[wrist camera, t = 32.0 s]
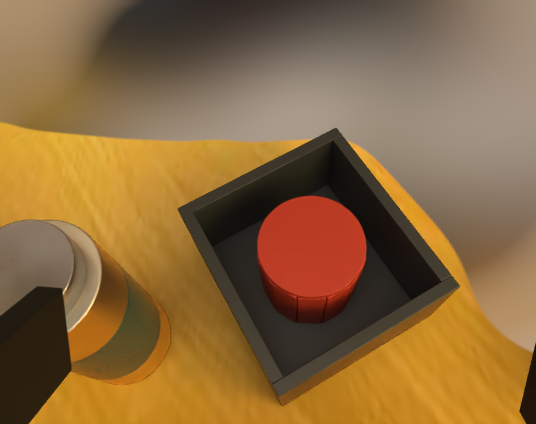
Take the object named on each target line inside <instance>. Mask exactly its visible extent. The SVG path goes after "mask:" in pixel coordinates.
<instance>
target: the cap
mask: <svg viewBox="0 0 536 424" xmlns="http://www.w3.org/2000/svg"><path fill="white" fill-rule="evenodd" d="M257 260H258V265H259V269H260V274H261V278H262V283H263V287H264V291H265V293H266V295H267V297H268V298H269V300H270V302H271V304H272V306H273V307H274V309H275V310H276V311H277V312H278V313H280V314H282V315H284V316H285V317H287V318H289V319H290V320H292V321H294V322H295V323H296V322H297V321H298V323H306V324H321V322H323V323H324V322H326V321H328V320H330V319H331V318H333V317H335V316H336V315H338V314H340V313H342V312H343V310H345V308H346V306H347V304H348V303H349V301H350V299H351V297H352V295H353V293H354V291H355V289H356V286H357V283H358V281H359V278H360V275H361V273H362V270H363V267H364V265H365V261H366V239H365V235H364V231H363V229H362V227H361V225H360V223H359V221H358V220H357V218H356V217H355V216H354V215H353V214H352V213H351V212H350V211H349V210H348V209H347V208H346V207H344V206H343V205H341V204H339V203H338V202H336V201H333V200H331V199H328V198H324V197H319V196H303V197H297V198H294V199H291V200H288V201H286V202H284V203H282V204H281V205H279V206H278V207H276V208H275V209H274V210H273V211H272V212H271V213H270V214H269V215H268V216H267V218H266V219H265V220H264V222H263V224H262V226H261V228H260V231H259V234H258V239H257Z"/></svg>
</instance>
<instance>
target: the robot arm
mask: <svg viewBox="0 0 536 424" xmlns="http://www.w3.org/2000/svg"><path fill="white" fill-rule="evenodd" d="M71 370H72V366H71V357H70V349H69V340H68V332H67V323H66V315H65V306H64V298H63V289H62V288H54V287H42V286H37V287H35V288H34V289H33V290H32V291H30V292H29V293H28V294H27V295H25V296H24V297H23V298H22V299H21V300H19V301H18V302H17V303H16V304H14V305H13V306H12V307H11V308H9V309H8V310H7V311H6V312H4V313H3V314H2V315H1V316H0V424H29V423H30V421H31V420H32V419H33V418H34V416H35V415H36V414H37V413H38V411H39V410H40V409H41V408H42V406H43V405H44V404H45V403H46V401H47V400H48V399H49V398H50V396H51V395H52V394H53V392H54V391H55V390H56V389H57V387H58V386H59V385H60V384H61V382H62V381H63V380H64V379H65V377H66V376H67V375H68V374H69V372H70V371H71ZM520 413H521V415H522V417H523V419H524V420H525V422H526V424H536V344H535V348H534V352H533V356H532V360H531V365H530V369H529V373H528V377H527V381H526V386H525V390H524V394H523V398H522V402H521V407H520Z"/></svg>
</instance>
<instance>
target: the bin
mask: <svg viewBox="0 0 536 424" xmlns="http://www.w3.org/2000/svg"><path fill="white" fill-rule="evenodd" d="M303 196H319V197H324V198H328V199H331V200H333V201H336V202H338V203H339V204H341V205H343V206H344V207H346V208H347V209H348V210H349V211H350V212H351V213H352V214H353V215H354V216H355V217H356V218H357V220H358V221H359V223H360V225H361V227H362V229H363V231H364V235H365V239H366V261H365V265H364V267H363V270H362V273H361V275H360V278H359V281H358V283H357V286H356V289H355V291H354V293H353V295H352V297H351V299H350V301H349V303H348V304H347V306H346V308H345V310H343V312H342V313H340V314H338V315H336V316H335V317H333V318H331V319H330V320H328V321H326V322H324V323H323V322H321V324H306V323H298V321H297V322H296V323H295V322H294V321H292V320H290V319H289V318H287V317H285V316H284V315H282V314H280V313H278V312H277V311H276V310H275V309H274V307H273V306H272V304H271V302H270V300H269V298H268V297H267V295H266V293H265V291H264V287H263V283H262V278H261V274H260V269H259V265H258V260H257V239H258V234H259V231H260V228H261V226H262V224H263V222H264V220H265V219H266V218H267V216H268V215H269V214H270V213H271V212H272V211H273V210H274V209H275V208H276V207H278V206H279V205H281V204H282V203H284V202H286V201H288V200H291V199H294V198H297V197H303ZM178 211H179V213H180V215H181V217H182V219H183V221H184V223H185V225H186V227H187V229H188V231H189V233H190V234H191V236H192V238H193V240H194V242H195V244H196V246H197V248H198V250H199V252H200V254H201V256H202V257H203V259H204V261H205V263H206V265H207V267H208V269H209V271H210V272H211V274H212V276H213V278H214V280H215V282H216V284H217V286H218V287H219V289H220V291H221V293H222V295H223V297H224V299H225V300H226V302H227V304H228V306H229V308H230V310H231V312H232V314H233V315H234V317H235V319H236V321H237V323H238V325H239V327H240V329H241V330H242V332H243V334H244V336H245V338H246V340H247V342H248V344H249V345H250V347H251V349H252V351H253V353H254V355H255V357H256V359H257V360H258V362H259V364H260V366H261V368H262V370H263V372H264V374H265V375H266V377H267V379H268V381H269V383H270V385H271V387H272V389H273V390H274V392H275V394H276V396H277V398H278V400H279V402H280V403H281V405H282V406H284V405H285V404H287V403H289V402H290V401H292V400H293V399H295V398H297V397H298V396H300V395H302V394H303V393H305V392H307V391H308V390H310V389H311V388H313V387H315V386H316V385H318V384H320V383H321V382H323V381H324V380H326V379H328V378H329V377H331V376H333V375H334V374H336V373H337V372H339V371H341V370H342V369H344V368H346V367H347V366H349V365H350V364H352V363H354V362H355V361H357V360H359V359H360V358H362V357H363V356H365V355H367V354H368V353H370V352H372V351H373V350H375V349H377V348H378V347H380V346H381V345H383V344H385V343H386V342H388V341H390V340H391V339H393V338H394V337H396V336H398V335H399V334H401V333H403V332H404V331H406V330H407V329H409V328H411V327H412V326H414V325H416V324H417V323H419V322H420V321H422V320H424V319H425V318H427V317H429V316H430V315H431V314H432V313H433V312H434V311H435V310H436V309H437V308H438V307H439V306H440V305H441V304H443V303H444V302H445V301H446V300H447V299H448V298H449V297H450V296H451V295H452V294H453V293H454V292H455V291H456V290H457V289H458V288H459V287H460V285H459V284H458V283H457V282H456V280H455V279H454V278H453V277H452V276H451V274H450V272H449V271H448V270H447V269H446V267H445V266H444V265H443V264H442V262H441V261H440V260H439V258H438V257H437V256H436V255H435V253H434V252H433V251H432V249H431V248H430V247H429V246H428V244H427V243H426V242H425V240H424V239H423V238H422V237H421V235H420V234H419V233H418V232H417V230H416V229H415V228H414V226H413V225H412V224H411V223H410V221H409V220H408V219H407V217H406V216H405V215H404V214H403V212H402V211H401V210H400V208H399V207H398V206H397V205H396V203H395V202H394V201H393V200H392V198H391V197H390V196H389V194H388V193H387V192H386V191H385V189H384V188H383V187H382V185H381V184H380V183H379V182H378V180H377V179H376V178H375V177H374V175H373V174H372V173H371V171H370V170H369V169H368V168H367V166H366V165H365V164H364V162H363V161H362V160H361V159H360V157H359V156H358V155H357V153H356V152H355V151H354V150H353V148H352V147H351V146H350V145H349V143H348V142H347V141H346V139H345V138H344V137H343V136H342V134H341V133H340V132H339V131H338V129H337V128H335V129H332V130H331V131H329V132H327V133H325V134H323V135H321V136H319V137H317V138H315V139H313V140H311V141H309V142H307V143H305V144H303V145H301V146H299V147H297V148H295V149H293V150H291V151H289V152H287V153H285V154H284V155H282V156H280V157H278V158H276V159H274V160H272V161H270V162H268V163H266V164H264V165H262V166H260V167H258V168H256V169H254V170H252V171H250V172H248V173H246V174H244V175H242V176H240V177H238V178H236V179H235V180H233V181H231V182H229V183H227V184H225V185H223V186H221V187H219V188H217V189H215V190H213V191H211V192H209V193H207V194H205V195H203V196H201V197H199V198H197V199H195V200H193V201H191V202H189V203H188V204H186V205H184V206H182V207H180V208H178Z"/></svg>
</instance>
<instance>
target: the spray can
mask: <svg viewBox="0 0 536 424" xmlns="http://www.w3.org/2000/svg"><path fill="white" fill-rule="evenodd" d="M37 286H42V287H54V288H62V289H63V298H64V306H65V315H66V323H67V332H68V340H69V349H70V357H71V366H72V370H71V372H74V373H77V374H80V375H83V376H87V377H90V378H93V379H97V380H100V381H104V382H107V383H110V384H115V385H126V384H131V383H135V382H138V381H140V380H142V379H144V378H145V377H147V376H148V375H150V374H151V373H152V372H153V371H154V370H155V369H156V368H157V367H158V366H159V365H160V363H161V362H162V361H163V359H164V357H165V355H166V353H167V351H168V348H169V344H170V338H171V330H170V323H169V320H168V317H167V315H166V313H165V311H164V310H163V309H162V308H161V306H160V305H159V304H158V303H157V302H156V301H155V300H154V299H153V298H152V297H151V296H150V295H149V294H148V293H147V292H146V291H145V290H144V289H143V288H142V287H141V286H140V285H139V284H138V283H137V282H136V281H135V280H134V279H133V278H132V277H131V276H130V275H129V274H128V273H127V272H126V271H125V270H124V269H123V268H122V267H121V266H120V265H119V264H118V263H117V262H116V261H115V260H114V259H113V258H111V257H110V256H109V255H108V254H107V253H106V252H105V251H104V250H103V249H102V248H101V247H100V246H99V245H98V244H97V243H96V242H95V241H94V240H93V239H92V238H91V237H90V236H89V235H88V234H87V233H86V232H85V231H83V230H82V229H81V228H79V227H77V226H75V225H73V224H71V223H68V222H64V221H58V220H22V221H17V222H13V223H10V224H8V225H5V226H3V227H1V228H0V316H1V315H2V314H3V313H4V312H6V311H7V310H8V309H9V308H11V307H12V306H13V305H14V304H16V303H17V302H18V301H19V300H21V299H22V298H23V297H24V296H25V295H27V294H28V293H29V292H30V291H32V290H33V289H34V288H35V287H37Z"/></svg>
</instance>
